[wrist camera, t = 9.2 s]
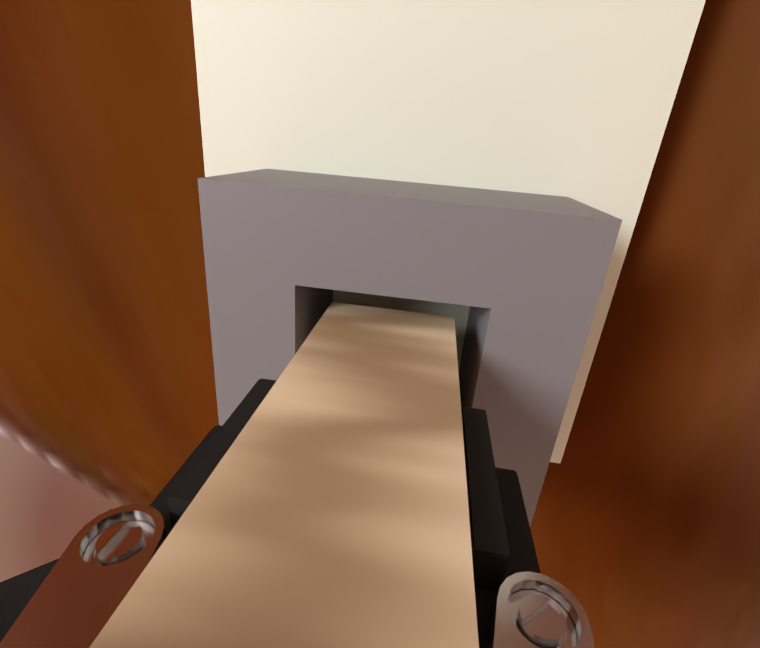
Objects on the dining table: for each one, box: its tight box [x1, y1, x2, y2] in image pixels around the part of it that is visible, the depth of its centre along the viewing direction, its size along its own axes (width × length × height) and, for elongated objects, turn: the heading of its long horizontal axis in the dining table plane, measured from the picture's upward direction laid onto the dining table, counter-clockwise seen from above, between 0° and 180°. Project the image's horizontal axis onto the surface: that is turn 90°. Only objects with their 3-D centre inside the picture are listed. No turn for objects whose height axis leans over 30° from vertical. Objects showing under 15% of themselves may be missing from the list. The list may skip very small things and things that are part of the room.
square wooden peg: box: [89, 302, 479, 648], centre depth 9 cm, size 4×4×12 cm
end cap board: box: [191, 0, 706, 526], centre depth 14 cm, size 16×24×6 cm, turn 176°
